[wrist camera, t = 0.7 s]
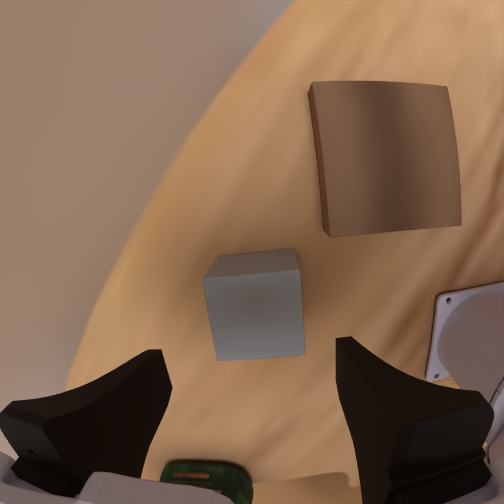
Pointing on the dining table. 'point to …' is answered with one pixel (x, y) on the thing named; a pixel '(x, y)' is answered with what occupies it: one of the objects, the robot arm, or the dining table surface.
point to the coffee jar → (211, 479)
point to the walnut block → (385, 156)
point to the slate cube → (255, 305)
